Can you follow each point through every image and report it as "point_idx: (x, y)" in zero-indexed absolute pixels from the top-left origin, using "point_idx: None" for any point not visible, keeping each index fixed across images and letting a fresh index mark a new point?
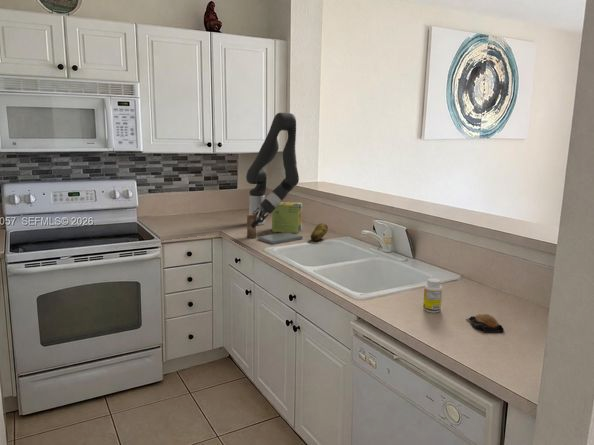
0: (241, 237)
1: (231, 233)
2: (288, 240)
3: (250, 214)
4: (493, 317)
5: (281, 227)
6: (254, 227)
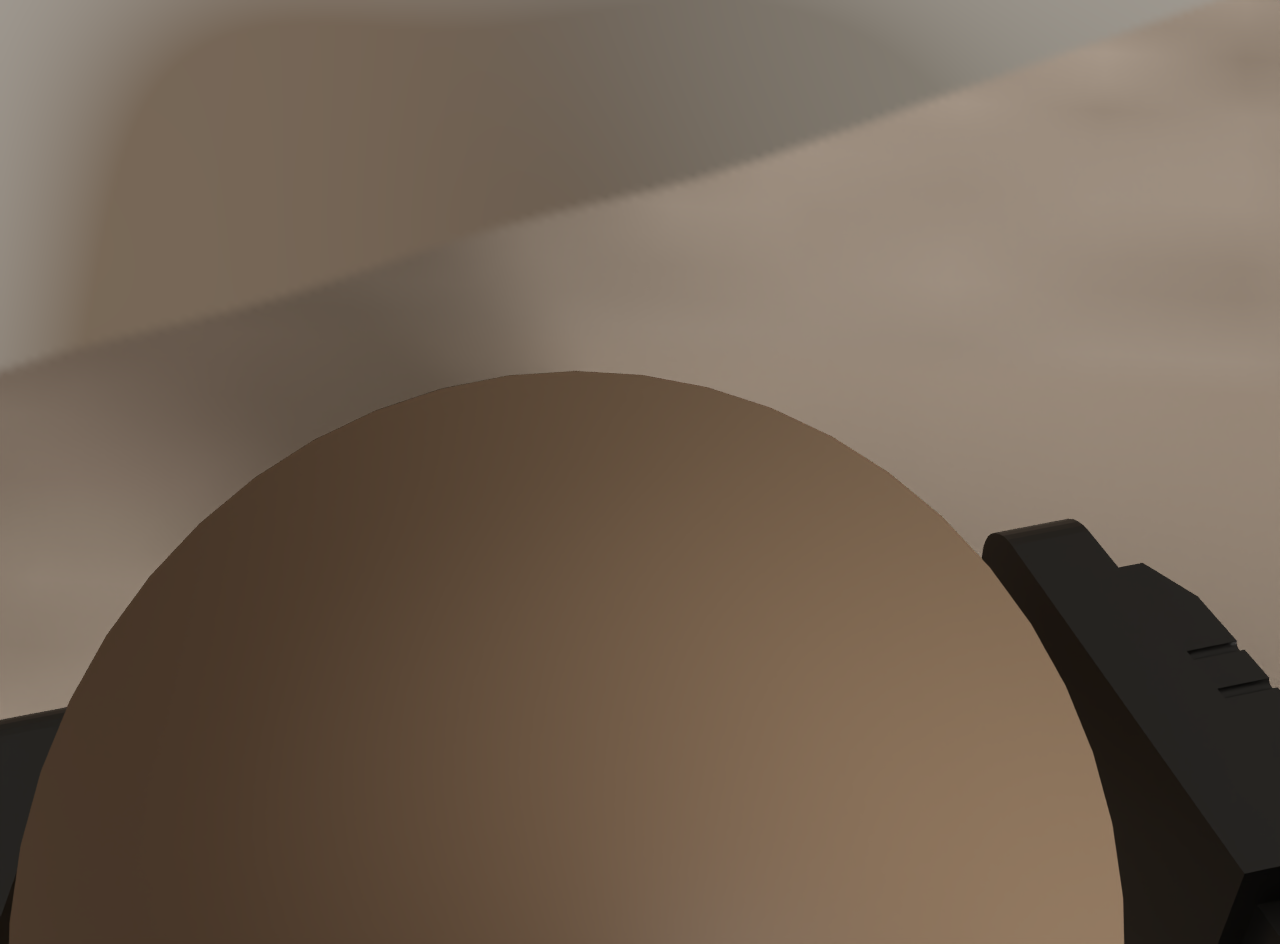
0: None
1: (1241, 114)
2: None
3: (1053, 820)
4: None
5: None
6: None
